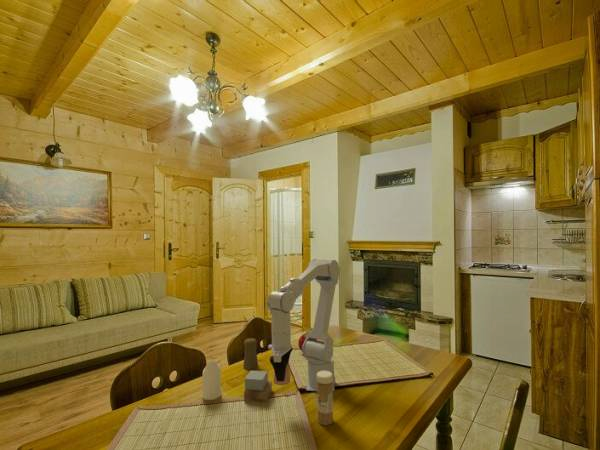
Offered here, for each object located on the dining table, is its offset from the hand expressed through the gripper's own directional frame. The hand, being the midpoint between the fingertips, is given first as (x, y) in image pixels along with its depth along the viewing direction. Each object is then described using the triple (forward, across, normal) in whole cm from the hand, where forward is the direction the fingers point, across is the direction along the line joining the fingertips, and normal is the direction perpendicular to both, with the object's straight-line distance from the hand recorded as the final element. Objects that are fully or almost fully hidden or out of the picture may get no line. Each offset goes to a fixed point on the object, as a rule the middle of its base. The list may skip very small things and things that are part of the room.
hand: (282, 376), depth 95 cm
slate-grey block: (+7, -9, -10) cm, 15 cm away
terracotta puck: (+1, 0, 0) cm, 1 cm away
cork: (+11, -30, -18) cm, 37 cm away
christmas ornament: (+11, -45, +4) cm, 46 cm away
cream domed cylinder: (+11, -7, -25) cm, 28 cm away
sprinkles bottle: (+11, +4, +13) cm, 17 cm away
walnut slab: (+11, -8, -10) cm, 17 cm away
